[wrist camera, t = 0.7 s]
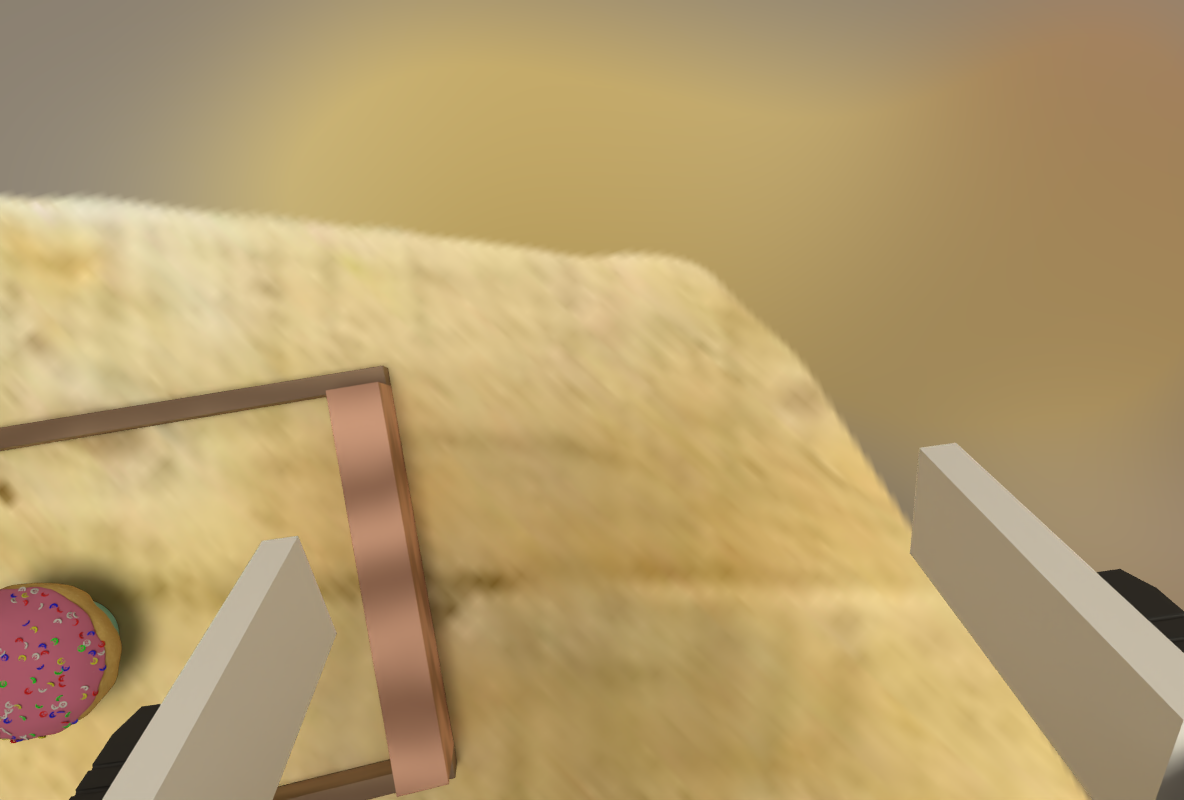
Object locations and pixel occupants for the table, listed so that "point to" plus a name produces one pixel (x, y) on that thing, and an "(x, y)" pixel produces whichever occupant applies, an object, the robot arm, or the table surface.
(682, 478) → the table surface
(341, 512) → the table surface
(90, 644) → the cupcake
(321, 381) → the brown wooden open frame
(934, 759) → the table surface
